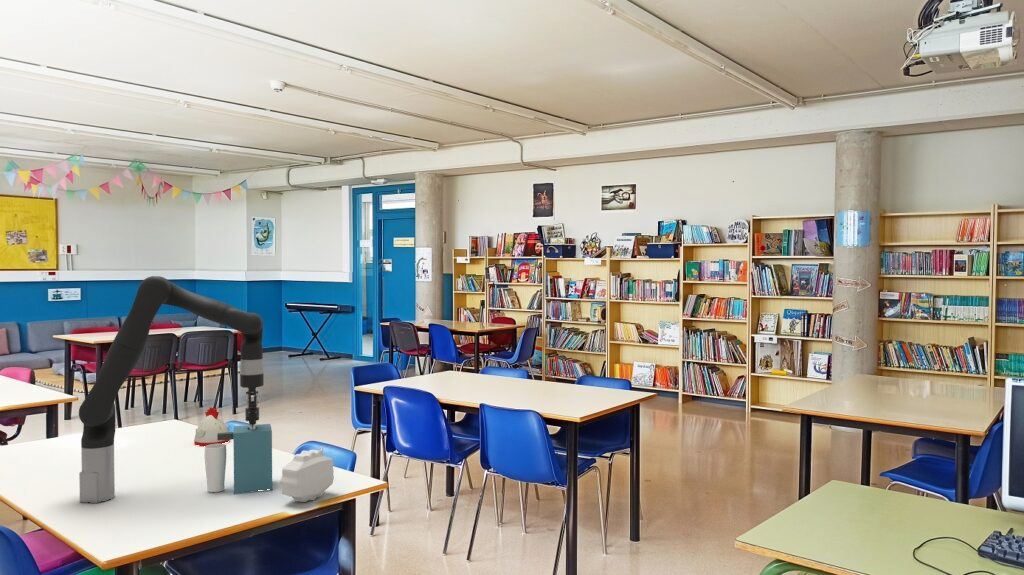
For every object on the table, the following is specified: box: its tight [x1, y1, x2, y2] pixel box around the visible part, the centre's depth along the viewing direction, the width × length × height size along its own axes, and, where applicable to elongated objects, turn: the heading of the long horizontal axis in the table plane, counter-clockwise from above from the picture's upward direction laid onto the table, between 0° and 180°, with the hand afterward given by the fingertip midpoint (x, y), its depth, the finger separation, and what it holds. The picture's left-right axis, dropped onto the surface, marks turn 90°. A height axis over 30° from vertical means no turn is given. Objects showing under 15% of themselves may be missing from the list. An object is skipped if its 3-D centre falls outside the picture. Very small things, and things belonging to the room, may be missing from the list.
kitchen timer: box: [193, 406, 230, 447], centre depth 318 cm, size 14×14×15 cm
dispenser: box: [217, 423, 273, 494], centre depth 252 cm, size 17×12×20 cm
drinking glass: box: [204, 444, 227, 493], centre depth 249 cm, size 7×7×15 cm
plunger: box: [244, 406, 260, 429], centre depth 253 cm, size 4×4×15 cm
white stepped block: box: [279, 445, 335, 503], centre depth 240 cm, size 11×18×16 cm, turn 152°
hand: (252, 422), depth 253 cm, fingers open, 5 cm apart
